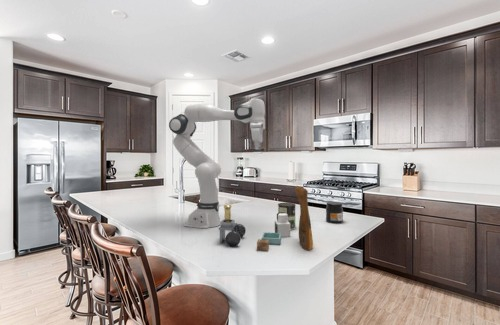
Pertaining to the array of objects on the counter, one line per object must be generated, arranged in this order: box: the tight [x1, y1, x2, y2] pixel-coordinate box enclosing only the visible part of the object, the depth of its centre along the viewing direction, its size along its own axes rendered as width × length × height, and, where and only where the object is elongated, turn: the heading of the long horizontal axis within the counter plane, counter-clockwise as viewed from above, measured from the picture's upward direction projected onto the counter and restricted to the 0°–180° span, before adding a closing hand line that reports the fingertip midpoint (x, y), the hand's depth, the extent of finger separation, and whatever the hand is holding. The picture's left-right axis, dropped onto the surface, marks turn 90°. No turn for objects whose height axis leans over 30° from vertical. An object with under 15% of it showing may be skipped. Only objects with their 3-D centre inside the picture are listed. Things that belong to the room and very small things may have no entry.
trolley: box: [218, 218, 246, 248], centre depth 126 cm, size 11×15×10 cm
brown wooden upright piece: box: [294, 185, 314, 251], centre depth 120 cm, size 7×19×28 cm, turn 177°
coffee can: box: [277, 202, 296, 231], centre depth 149 cm, size 10×10×14 cm
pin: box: [223, 204, 232, 222], centre depth 127 cm, size 4×4×10 cm
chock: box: [256, 238, 270, 252], centre depth 115 cm, size 5×4×4 cm
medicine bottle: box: [274, 212, 291, 238], centre depth 135 cm, size 7×7×12 cm
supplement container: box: [325, 201, 344, 224], centre depth 161 cm, size 10×10×12 cm
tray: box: [260, 231, 282, 246], centre depth 125 cm, size 9×9×3 cm
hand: (257, 149), depth 148 cm, fingers open, 8 cm apart
